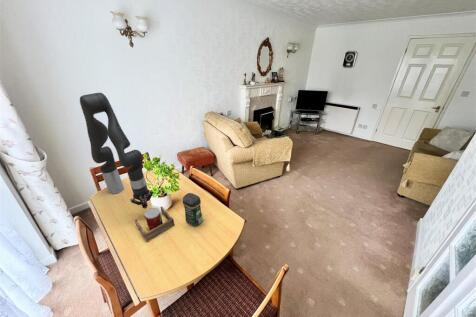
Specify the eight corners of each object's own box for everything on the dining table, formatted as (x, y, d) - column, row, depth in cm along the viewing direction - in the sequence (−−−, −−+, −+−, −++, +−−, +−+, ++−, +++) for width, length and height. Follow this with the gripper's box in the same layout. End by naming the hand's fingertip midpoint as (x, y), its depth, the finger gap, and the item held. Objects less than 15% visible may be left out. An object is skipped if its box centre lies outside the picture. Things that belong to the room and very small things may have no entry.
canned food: (158, 233, 107) (154, 218, 102) (145, 230, 109) (141, 216, 104) (166, 222, 114) (162, 208, 109) (153, 220, 115) (149, 206, 110)
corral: (136, 226, 111) (134, 220, 109) (163, 212, 121) (162, 206, 119) (146, 241, 103) (144, 235, 100) (174, 225, 112) (173, 219, 110)
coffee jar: (183, 221, 115) (179, 197, 106) (192, 213, 121) (189, 189, 112) (195, 229, 110) (192, 203, 101) (205, 220, 116) (202, 195, 107)
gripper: (147, 176, 114) (153, 199, 123) (123, 186, 106) (131, 209, 115) (153, 182, 110) (158, 205, 118) (128, 192, 101) (136, 216, 110)
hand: (145, 207), depth 116 cm, fingers closed
